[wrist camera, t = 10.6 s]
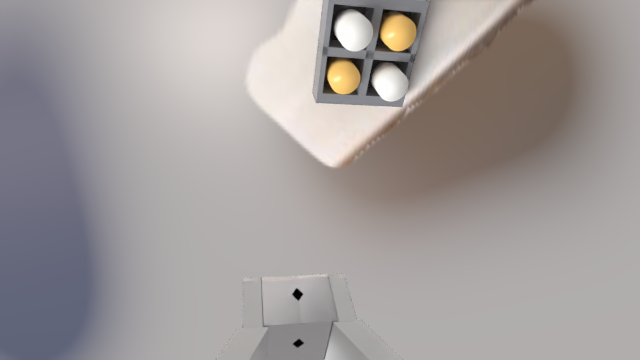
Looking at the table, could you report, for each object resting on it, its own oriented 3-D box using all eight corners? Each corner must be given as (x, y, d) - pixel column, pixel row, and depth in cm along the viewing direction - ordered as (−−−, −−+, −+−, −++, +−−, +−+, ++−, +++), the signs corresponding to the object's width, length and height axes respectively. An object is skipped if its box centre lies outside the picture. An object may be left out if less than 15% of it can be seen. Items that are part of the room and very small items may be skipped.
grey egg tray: (324, -15, 33) (329, -10, 31) (419, -4, 35) (429, 1, 33) (312, 92, 39) (316, 102, 37) (394, 97, 41) (402, 106, 39)
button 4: (380, 9, 34) (389, 15, 32) (409, 12, 35) (420, 19, 33) (373, 41, 36) (381, 50, 34) (401, 44, 37) (411, 52, 34)
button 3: (335, 7, 33) (342, 14, 30) (367, 10, 33) (376, 17, 31) (331, 41, 34) (337, 50, 32) (361, 43, 35) (369, 52, 33)
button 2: (373, 61, 36) (382, 70, 34) (402, 63, 37) (411, 72, 34) (367, 89, 38) (375, 100, 35) (395, 91, 38) (404, 102, 36)
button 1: (326, 54, 36) (332, 63, 34) (355, 56, 37) (362, 65, 34) (323, 83, 38) (327, 93, 35) (351, 84, 38) (357, 95, 36)
